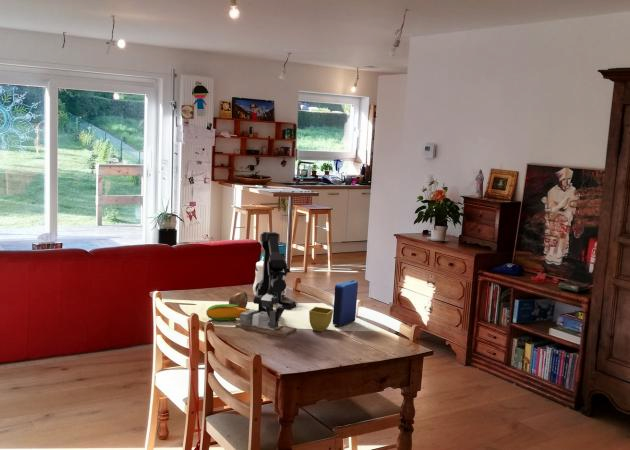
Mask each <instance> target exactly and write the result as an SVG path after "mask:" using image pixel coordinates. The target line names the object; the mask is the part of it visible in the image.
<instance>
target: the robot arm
mask: <svg viewBox="0 0 630 450" xmlns="http://www.w3.org/2000/svg"><path fill="white" fill-rule="evenodd" d="M259 236H260V237H259V241H260V243H261V247H262V248H263V260H262V261H263V277H262V280H261V282H260V283H259V287H258V288H257V292H256V296H254V298H253V304H255V305H258V307H257V308H258V309H257V313H259V312H262V311H263V312H267V314H268V318H269V315H270V310H272V309H274V305H276V306H277V307H276V308H275V310H276V311H277V314H276V322H278V321H280V319H281V317H282V315H283V313H284V312H285V310H287V311H291V310H293V309H294V310H295V308H297V302H296V301H294V300H285V301H283V300H284V297H283V298H282V291H284V290H285V288H286V289H287V283H286V280H285V281H284V279H283V276H285V277H286V276H288V263H287V261H286V260H285V257H284V255H283V254H282V253H281V251H280V245H279V242H280V237H281V235H280V233H278V232H276V231H263V232H262V233H260V235H259ZM283 269H284V272H278V271H283ZM278 323H279V322H278Z"/></svg>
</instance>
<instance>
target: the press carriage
mask: <svg viewBox="0 0 630 450" xmlns="http://www.w3.org/2000/svg"><path fill="white" fill-rule="evenodd" d="M276 314H277V311H276V308H273V309H272V310H270V315H269V317H268V314H267V312H263V311H262V312H259V313H257V314H254V315H253V321H252V326H253V327H258V328H263V329H267V330H272V331H275V330H277V329H279V328H281V327H283V326H284V324H280V323H279V321H280V320H279V321H278V322H276Z"/></svg>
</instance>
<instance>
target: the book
mask: <svg viewBox="0 0 630 450" xmlns="http://www.w3.org/2000/svg"><path fill="white" fill-rule="evenodd" d="M358 291H359V282H358V280H357V281H356V280H353V279H350V280H348V281H344V282H341V283H336V284H335V285H334V297H333V314H332V325H333V326H338V327H343V326H347V325H349V324H350V323H354V322H356V314H357V302H358V301H357V300H358Z"/></svg>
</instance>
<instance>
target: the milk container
mask: <svg viewBox="0 0 630 450" xmlns="http://www.w3.org/2000/svg"><path fill="white" fill-rule="evenodd" d="M263 261H264V260H261V261H257V262H256V263H255V274H254V276H255V277H254V282H253V285H252V293H253V295H254V297H256V292H257V288H258V287H259V283H260V282H261V280H262V277H263ZM278 272H284V269H283V271H278ZM283 279H284V281H285V282H286V276H283ZM286 293H287V287H286V288H285V290H284V291H282V298H283V299H284V298H285V296H286Z"/></svg>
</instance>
